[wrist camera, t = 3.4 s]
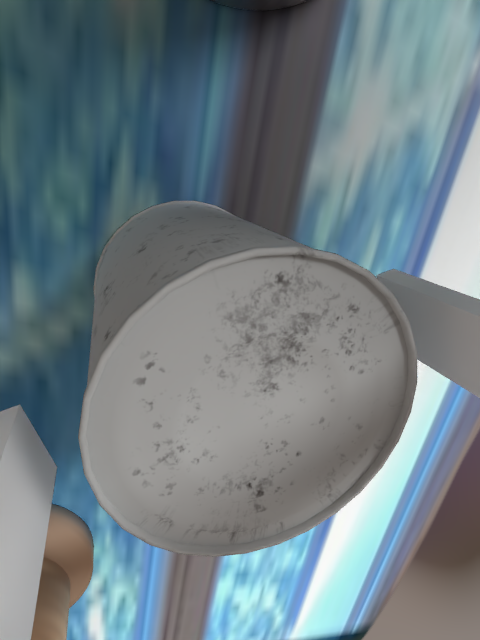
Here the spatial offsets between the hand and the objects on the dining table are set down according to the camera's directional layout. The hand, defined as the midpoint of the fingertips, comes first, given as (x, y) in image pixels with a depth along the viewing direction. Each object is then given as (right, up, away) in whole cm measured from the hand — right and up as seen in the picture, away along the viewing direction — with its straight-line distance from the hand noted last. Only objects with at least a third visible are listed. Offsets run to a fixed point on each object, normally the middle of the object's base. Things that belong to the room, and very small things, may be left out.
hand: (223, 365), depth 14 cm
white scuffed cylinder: (-2, +3, +8) cm, 9 cm away
